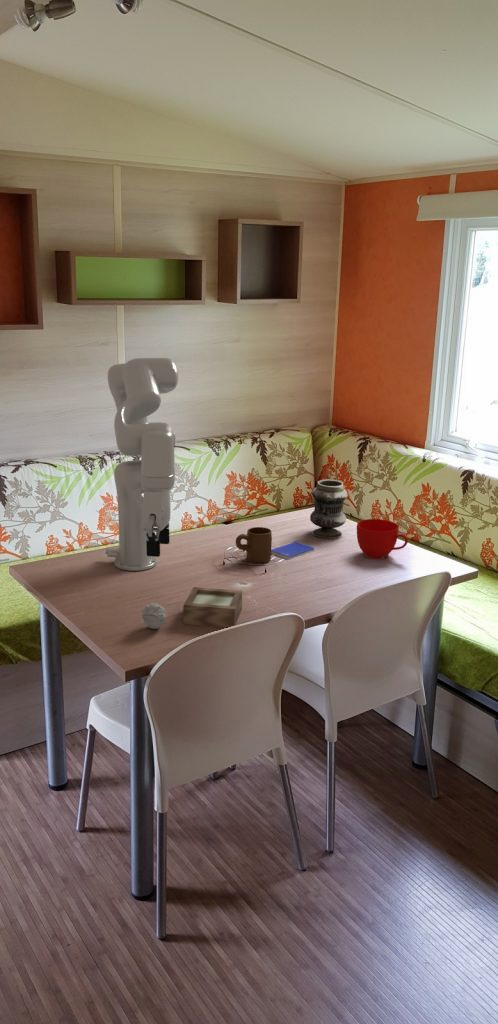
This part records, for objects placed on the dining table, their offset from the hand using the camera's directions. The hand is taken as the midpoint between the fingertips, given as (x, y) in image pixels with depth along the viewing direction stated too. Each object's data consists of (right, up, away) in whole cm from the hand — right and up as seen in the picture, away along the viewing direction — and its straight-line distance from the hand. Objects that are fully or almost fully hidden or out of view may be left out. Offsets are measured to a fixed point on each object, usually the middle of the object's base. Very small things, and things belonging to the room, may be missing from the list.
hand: (158, 549), depth 206 cm
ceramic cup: (+64, -5, +58) cm, 86 cm away
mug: (+23, -6, +52) cm, 57 cm away
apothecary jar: (+49, +2, +78) cm, 92 cm away
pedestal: (+13, -18, +12) cm, 25 cm away
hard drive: (+36, -4, +61) cm, 71 cm away
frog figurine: (-1, -20, +4) cm, 20 cm away
